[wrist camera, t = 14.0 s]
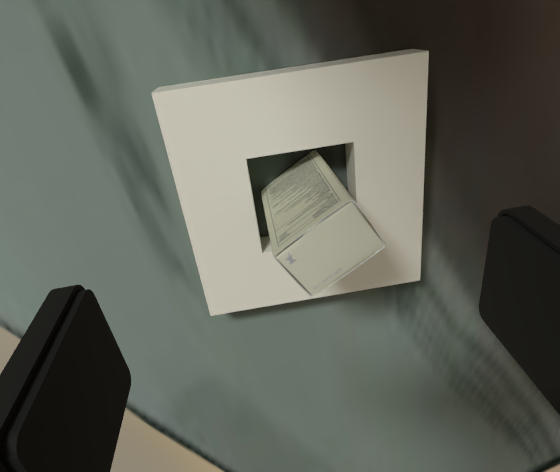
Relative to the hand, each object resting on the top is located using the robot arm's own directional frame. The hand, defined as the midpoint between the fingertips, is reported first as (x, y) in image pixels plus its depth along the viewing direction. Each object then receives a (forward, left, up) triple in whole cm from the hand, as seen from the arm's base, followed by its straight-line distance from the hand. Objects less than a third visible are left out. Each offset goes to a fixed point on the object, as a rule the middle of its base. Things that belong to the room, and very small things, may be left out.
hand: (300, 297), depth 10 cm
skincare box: (+8, +3, -26) cm, 28 cm away
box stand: (+8, +3, -26) cm, 27 cm away
